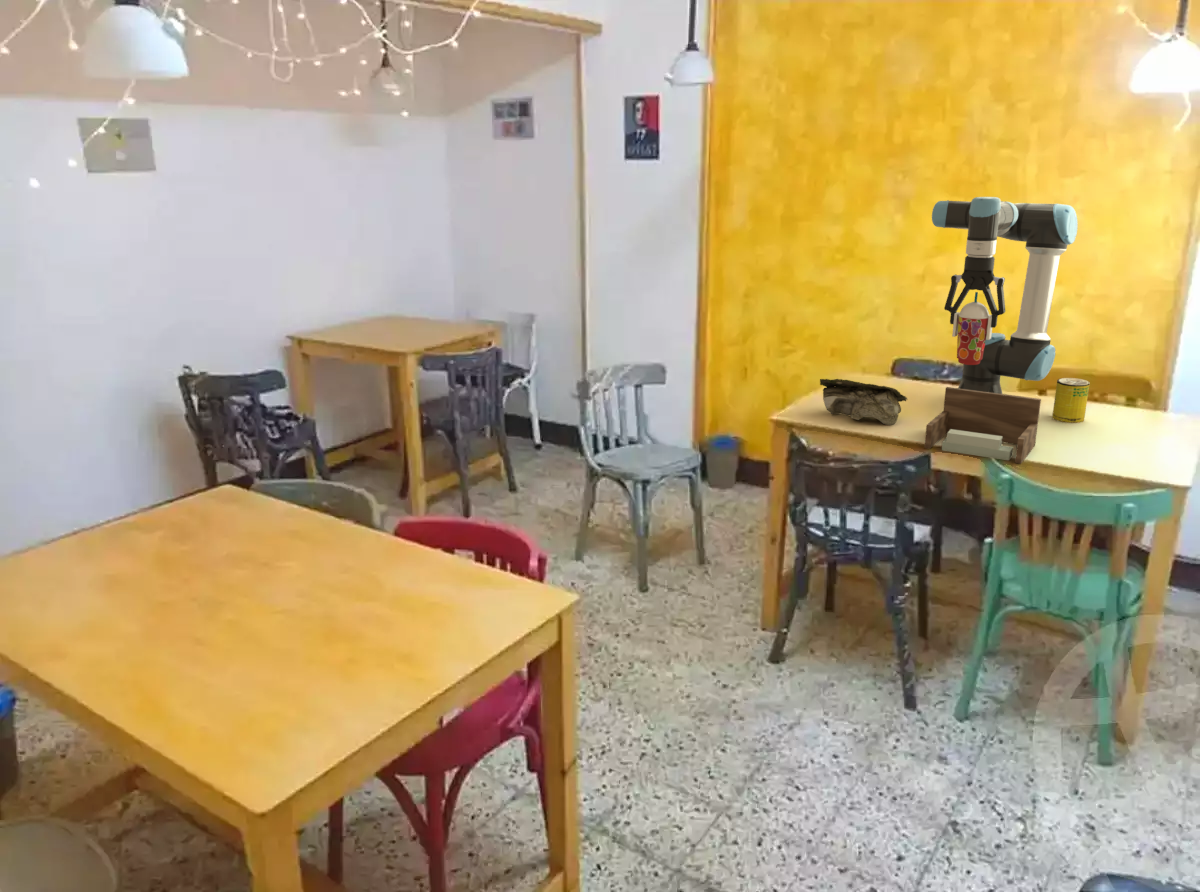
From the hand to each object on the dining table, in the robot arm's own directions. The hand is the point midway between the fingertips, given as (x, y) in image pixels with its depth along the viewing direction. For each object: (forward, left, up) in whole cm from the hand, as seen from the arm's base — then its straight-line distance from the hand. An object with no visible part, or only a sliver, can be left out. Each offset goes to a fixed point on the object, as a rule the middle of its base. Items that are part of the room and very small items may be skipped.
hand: (971, 337), depth 262 cm
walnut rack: (+1, +6, -31) cm, 32 cm away
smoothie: (0, 0, -8) cm, 8 cm away
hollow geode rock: (-10, -34, -32) cm, 48 cm away
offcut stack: (+7, +6, -32) cm, 33 cm away
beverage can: (-41, +22, -32) cm, 56 cm away
